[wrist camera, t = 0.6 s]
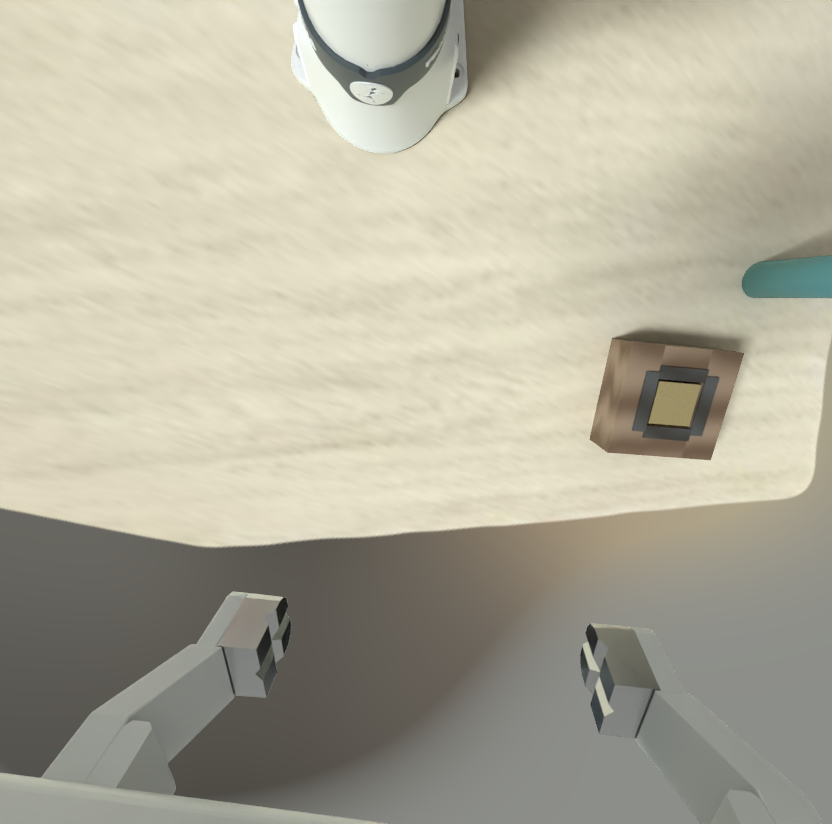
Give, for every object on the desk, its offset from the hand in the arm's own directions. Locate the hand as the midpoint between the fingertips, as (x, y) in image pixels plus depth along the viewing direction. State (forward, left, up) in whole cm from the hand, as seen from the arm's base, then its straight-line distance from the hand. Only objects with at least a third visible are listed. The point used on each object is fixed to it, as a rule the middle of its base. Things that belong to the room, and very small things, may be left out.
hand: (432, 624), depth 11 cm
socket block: (+1, +34, -43) cm, 55 cm away
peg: (-15, +44, -43) cm, 64 cm away
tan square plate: (+1, +34, -39) cm, 52 cm away
